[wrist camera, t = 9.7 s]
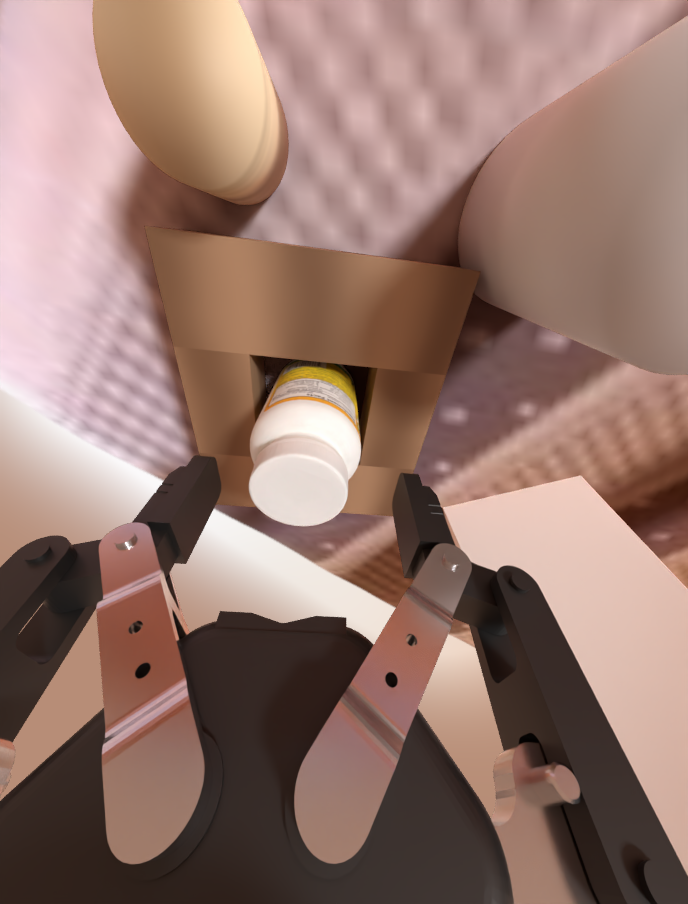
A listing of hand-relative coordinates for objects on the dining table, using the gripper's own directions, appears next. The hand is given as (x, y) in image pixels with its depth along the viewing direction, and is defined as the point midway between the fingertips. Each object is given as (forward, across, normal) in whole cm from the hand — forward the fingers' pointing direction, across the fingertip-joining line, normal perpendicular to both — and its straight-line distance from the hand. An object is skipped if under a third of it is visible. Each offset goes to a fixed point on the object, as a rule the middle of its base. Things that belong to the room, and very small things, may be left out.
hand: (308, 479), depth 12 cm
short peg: (+8, +4, -12) cm, 15 cm away
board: (+8, 0, 0) cm, 8 cm away
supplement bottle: (+8, 0, 0) cm, 9 cm away
